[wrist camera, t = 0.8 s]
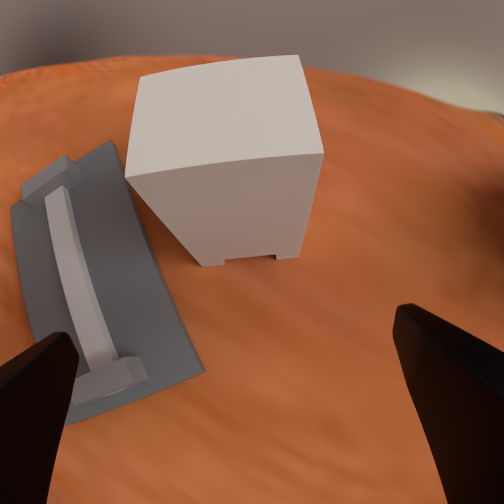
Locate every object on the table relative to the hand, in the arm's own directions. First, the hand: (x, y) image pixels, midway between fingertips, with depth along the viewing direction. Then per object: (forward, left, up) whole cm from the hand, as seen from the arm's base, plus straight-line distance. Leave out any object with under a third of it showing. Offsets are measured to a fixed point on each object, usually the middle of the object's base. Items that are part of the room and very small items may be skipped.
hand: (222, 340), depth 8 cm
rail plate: (-4, +13, -13) cm, 19 cm away
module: (+6, +5, -13) cm, 15 cm away
